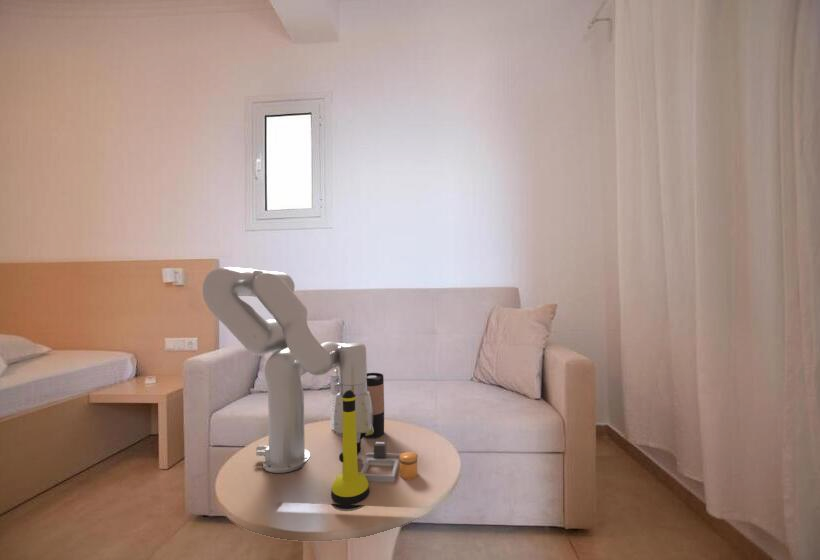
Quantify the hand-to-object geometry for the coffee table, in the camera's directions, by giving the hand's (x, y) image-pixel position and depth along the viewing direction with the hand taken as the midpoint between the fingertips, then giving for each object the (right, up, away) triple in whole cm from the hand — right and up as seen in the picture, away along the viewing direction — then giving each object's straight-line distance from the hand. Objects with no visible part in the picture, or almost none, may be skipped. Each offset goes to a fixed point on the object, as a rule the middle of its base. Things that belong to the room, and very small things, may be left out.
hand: (354, 455), depth 97 cm
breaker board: (+5, -2, -4) cm, 7 cm away
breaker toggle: (+7, -1, -1) cm, 7 cm away
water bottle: (-8, -3, +23) cm, 24 cm away
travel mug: (+3, -3, +17) cm, 17 cm away
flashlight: (+2, -2, -16) cm, 16 cm away
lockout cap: (+15, -2, -9) cm, 17 cm away
